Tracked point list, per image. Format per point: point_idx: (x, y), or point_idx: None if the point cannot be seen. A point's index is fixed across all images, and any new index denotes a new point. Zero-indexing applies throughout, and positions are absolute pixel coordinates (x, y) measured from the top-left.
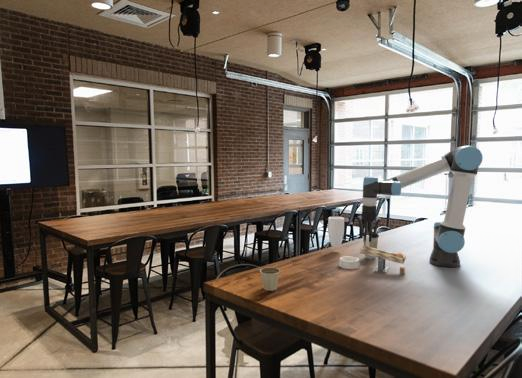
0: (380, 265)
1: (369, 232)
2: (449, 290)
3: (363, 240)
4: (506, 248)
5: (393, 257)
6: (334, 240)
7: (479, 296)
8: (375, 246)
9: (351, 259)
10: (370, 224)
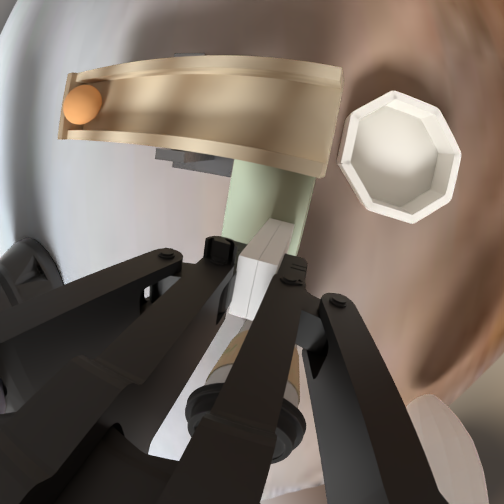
0: None
1: (214, 281)
2: (49, 22)
3: (298, 401)
4: None
5: (112, 67)
6: (446, 414)
7: (20, 29)
8: (225, 351)
9: (387, 205)
10: (122, 369)
